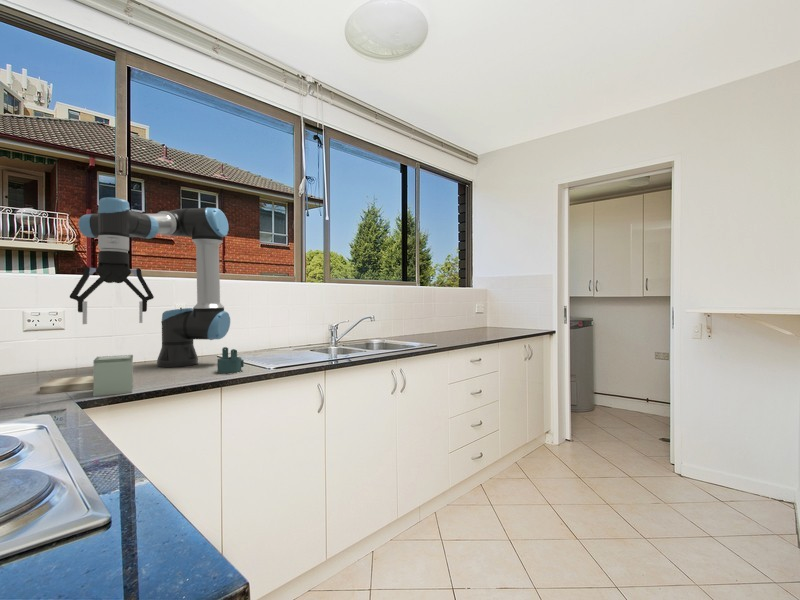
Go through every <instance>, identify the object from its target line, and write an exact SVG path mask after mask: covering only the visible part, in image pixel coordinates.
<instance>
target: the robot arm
mask: <svg viewBox="0 0 800 600" xmlns="http://www.w3.org/2000/svg"><path fill="white" fill-rule="evenodd" d="M78 229H79V231H80V233H81V234H82V235H83V236H84V237H87V238H90V239H91V238H94V239H97V240H98V241H97V245H98V247H97V249H98V250H99V252H97V253H98V254H97V257H98V258H97V267H90V266H84V269H83V274H82V276H81V278H80V279H79V280H78V282H77V284H76V286H75V287H74V289H73V290H72V291H71V293H70V294H69V298H70V299H72V300H75V301H77V311H78V313H82V325H87V324H88V301H85V300H86V299H87V298H88V297H89V296H90V295H91V294H92V293H93V292H94V291H95V290H97V288H98V287H100V285H102V284H103V283H107V284H113V283H115V284H121V283H125V284H126V285H127V286H128V287H129V288H130V289H131V290H132V292H134V294H136V295H137V297H138V298H139V299H141V301H139V302H138V303H139V305H138V307H139V312H138V315H139V317H138V319H139V324H142V323H143V312H144V313H145V312H147V309H148V302H149V301H150V300H154V298H155V296H154V295H153V293H152V291H151V289H150V287H149V286H148V284H147V283H146V281H145V279H144V277H143V275H142V269H141V268H136V269H135V268H134V269H131V268H130V253H129V251H130V238H140V239H147V240H149V239H153V238H154V237H156V236H157V235H158V234H160V235H161V236H167V237H168V236H172V237H175V236H176V237H183V238H185V237H186V238H191V241H192V243H194V244H195V252H196V253H195V254H196V255H195V257H196V259H195V260H196V261H195V262H196V263H195V264H196V304H195V305H194V306H193V308H192V307H189V308H188V307H187V308H175V309H169V310H165V311H163V312H162V315H161V349H160V352H159V354H158V357H157V360H156V366H157V367H160V368H176V367H177V368H180V367H188V366H194V365H197V364H199V357H198V354H197V352H196V348H195V345H194V340H205V341H206V340H209V341H213V340H221V339H223V338H225V336H227V334H228V332H229V330H230V326H231V316H230V314H229V312H227V311H225V306H223V304H222V303H221V290H220V289H221V285H220V284H221V283H220V282H221V280H220V279H221V278H220V277H221V276H220V274H221V273H220V245H222V243H223V242H224V238H225V237H226V236H227V235H228V234H229V221H228V219H227V217H226V215H225V213H224V212H223V211H222V210H221V209H219V208H216V207H196V208H194V207H192V208H190V207H189V208H178V209H173V210H161V211H158V212H157V213H141V212H138V211H133V210H131V207H130V203H129V201H128V200H126V199H123V198H119V197H102V198H100V199H99V201H98V209H97V213H91V214H90V213H89V214H84V215H82V216H80V217H79V220H78ZM94 273H96V274H98V276H99V278H98V277H97V279H96V280H95V282H93V283H92V284H91V285H90V286H89V287H88V288H87V289H86V290H84V291H83V292H82V293H81V294H80V292H81V290H82V288H83V287H84V285H85V284H86V283H87V281H88V280H89V277H90V276H93V274H94ZM131 274H133V275H134V276H135V277H137V279H138V280H139V282H140V285H141V286H142V288H143V289H144V291H145V293H146V295H147V296H145V294H143V293H142V292H141V291H140V290H139V289H138V288H137V287H136V286H135V285H134V283H132V282H131V280H129V278H128V277H129V276H130V275H131ZM79 294H80V295H79Z"/></svg>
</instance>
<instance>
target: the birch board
mask: <svg viewBox="0 0 800 600" xmlns="http://www.w3.org/2000/svg"><path fill="white" fill-rule="evenodd" d="M88 390H94V375H87V376H74V377H73V376H71V377H61V378H50V379H48V380H47V381H46V382H44V383H43V384H42V385H41V386H39V394H40V395H44V394H55V393H57V394H58V393H68V392H77V391H78V392H79V391H88Z"/></svg>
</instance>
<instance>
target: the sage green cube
mask: <svg viewBox="0 0 800 600" xmlns="http://www.w3.org/2000/svg"><path fill="white" fill-rule="evenodd" d="M93 376H94V389H93V397H100V396H101V397H102V396H110V395H120V394H131V393H132V392H133V389H134V355H133V354H123V355H105V356H103V355H102V356H96V357H95V358H94V360H93Z"/></svg>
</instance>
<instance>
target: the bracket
mask: <svg viewBox="0 0 800 600" xmlns="http://www.w3.org/2000/svg"><path fill="white" fill-rule="evenodd" d="M221 350H222V353H221V356H222V357H219V358H217V374H219V373H220V374H222V375H229V374H228V373H232V374H238V373H237V372H239V373H241V372H242V368H244V365H245V363H244V362H245V361H244V359H242V357H241V356H238V350H237V349H234V348H233V349H231V350H230V356H229V347H226V346H223V347H222V349H221ZM240 371H241V372H240Z"/></svg>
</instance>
